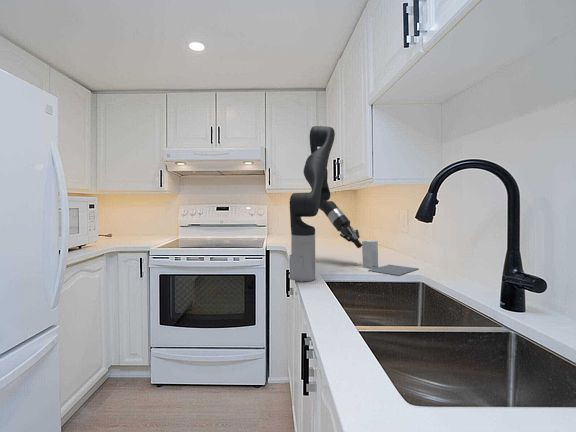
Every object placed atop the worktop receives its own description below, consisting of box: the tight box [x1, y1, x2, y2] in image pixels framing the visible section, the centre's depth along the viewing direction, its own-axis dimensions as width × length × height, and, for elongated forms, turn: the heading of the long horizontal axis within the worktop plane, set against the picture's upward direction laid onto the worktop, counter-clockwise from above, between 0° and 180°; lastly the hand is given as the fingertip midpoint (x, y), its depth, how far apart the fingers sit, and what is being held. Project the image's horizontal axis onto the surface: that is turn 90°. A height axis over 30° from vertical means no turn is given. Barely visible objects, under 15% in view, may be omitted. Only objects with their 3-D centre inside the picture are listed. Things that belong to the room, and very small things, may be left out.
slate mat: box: [367, 264, 419, 277], centre depth 147 cm, size 18×14×1 cm
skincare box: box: [361, 239, 379, 269], centre depth 153 cm, size 6×4×12 cm
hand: (360, 246), depth 157 cm, fingers closed
